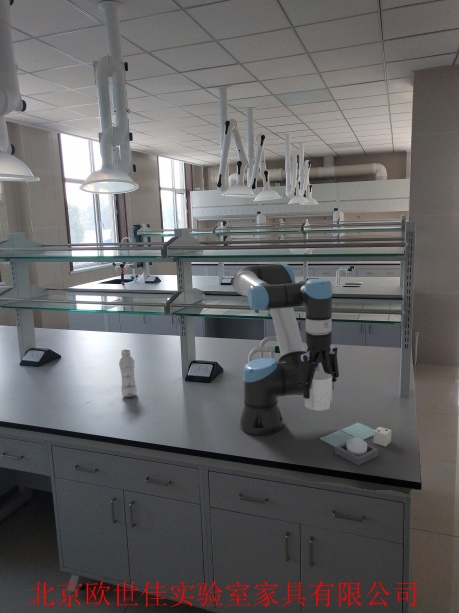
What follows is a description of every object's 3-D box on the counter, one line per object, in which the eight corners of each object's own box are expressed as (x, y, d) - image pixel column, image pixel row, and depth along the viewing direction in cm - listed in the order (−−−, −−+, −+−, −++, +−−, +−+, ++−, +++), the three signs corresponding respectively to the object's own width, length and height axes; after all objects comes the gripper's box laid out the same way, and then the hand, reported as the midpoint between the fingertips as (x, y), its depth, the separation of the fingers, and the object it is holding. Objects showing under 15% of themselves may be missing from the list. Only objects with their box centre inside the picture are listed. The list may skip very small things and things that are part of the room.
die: (373, 442, 141) (373, 430, 140) (378, 438, 144) (379, 426, 143) (385, 446, 139) (386, 434, 138) (390, 441, 141) (391, 429, 141)
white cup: (328, 400, 140) (328, 370, 138) (334, 411, 132) (335, 379, 130) (303, 401, 140) (303, 371, 138) (308, 412, 132) (308, 380, 130)
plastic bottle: (122, 400, 184) (117, 353, 180) (121, 394, 190) (117, 349, 186) (138, 398, 185) (134, 352, 181) (136, 392, 192) (133, 347, 188)
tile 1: (319, 439, 145) (319, 438, 145) (339, 431, 150) (339, 430, 150) (340, 450, 138) (340, 449, 137) (360, 441, 142) (360, 440, 142)
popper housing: (335, 452, 136) (335, 446, 136) (355, 443, 141) (355, 438, 141) (358, 465, 129) (358, 459, 128) (378, 455, 134) (378, 449, 133)
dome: (342, 451, 136) (342, 437, 135) (355, 445, 139) (355, 431, 138) (357, 459, 131) (358, 445, 130) (371, 453, 134) (371, 438, 133)
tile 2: (340, 430, 150) (340, 429, 150) (358, 423, 155) (358, 422, 155) (361, 441, 143) (361, 440, 143) (379, 432, 147) (379, 432, 147)
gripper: (301, 340, 123) (302, 417, 127) (352, 328, 134) (351, 399, 138) (283, 335, 129) (285, 408, 133) (333, 324, 140) (333, 392, 144)
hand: (318, 404), depth 136 cm, fingers closed on white cup, 8 cm apart
